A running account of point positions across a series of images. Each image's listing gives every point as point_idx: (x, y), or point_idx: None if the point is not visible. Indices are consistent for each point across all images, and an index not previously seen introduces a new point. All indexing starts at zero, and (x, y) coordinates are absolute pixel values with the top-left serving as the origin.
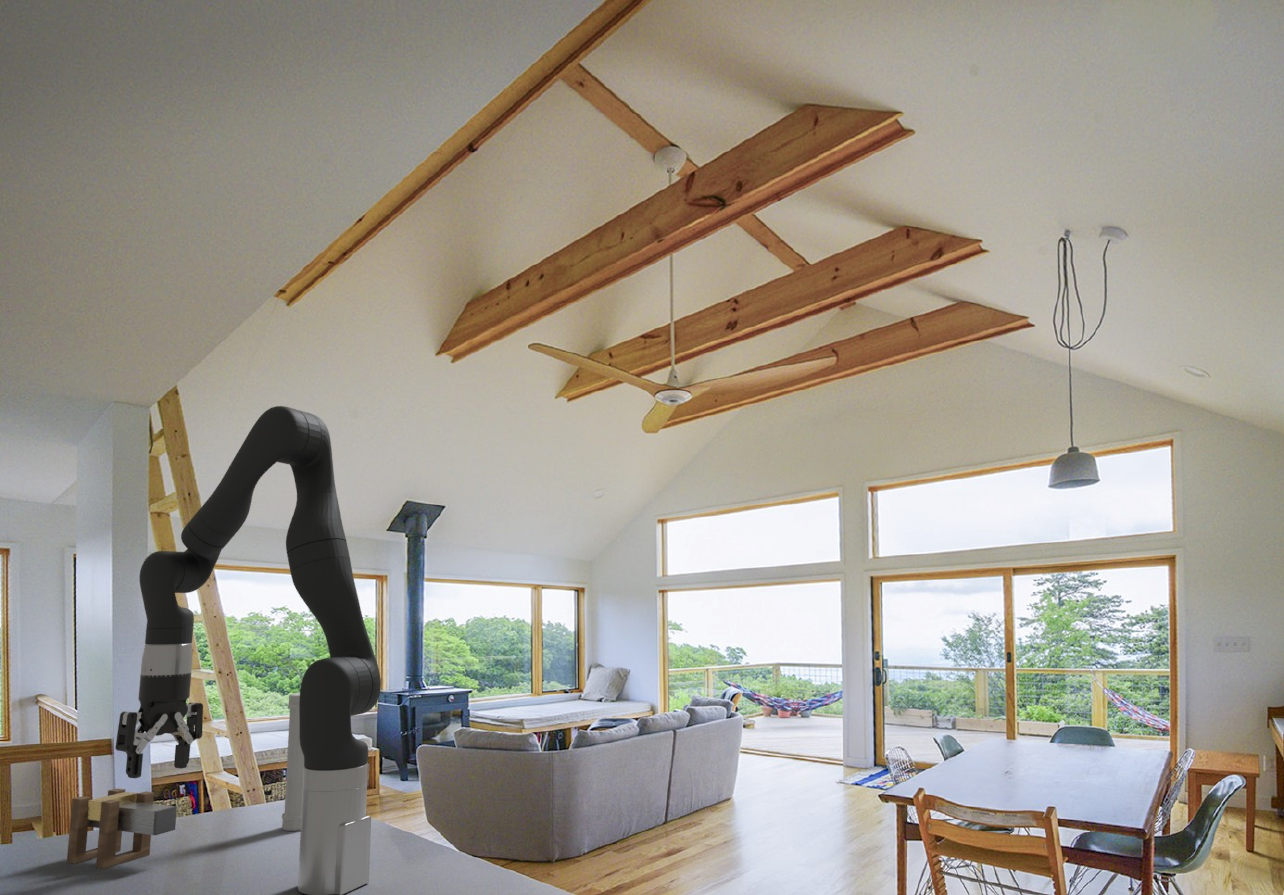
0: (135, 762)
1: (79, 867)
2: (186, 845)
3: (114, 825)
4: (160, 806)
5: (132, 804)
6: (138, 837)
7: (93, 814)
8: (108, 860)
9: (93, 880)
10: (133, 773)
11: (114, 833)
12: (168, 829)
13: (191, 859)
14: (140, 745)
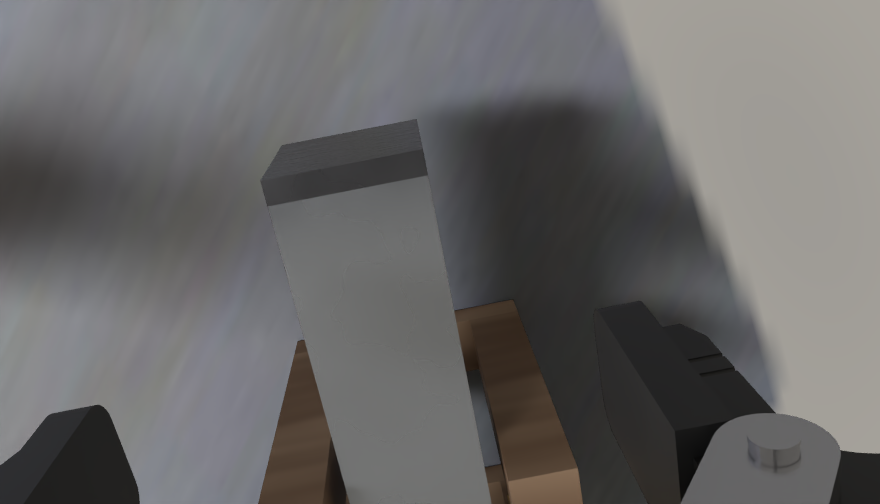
0: (713, 387)
1: None
2: (117, 350)
3: (508, 396)
4: (328, 282)
5: (404, 480)
6: None
7: None
8: (502, 314)
9: (626, 175)
10: (679, 331)
11: (498, 375)
12: (329, 137)
13: (210, 103)
14: (794, 492)
